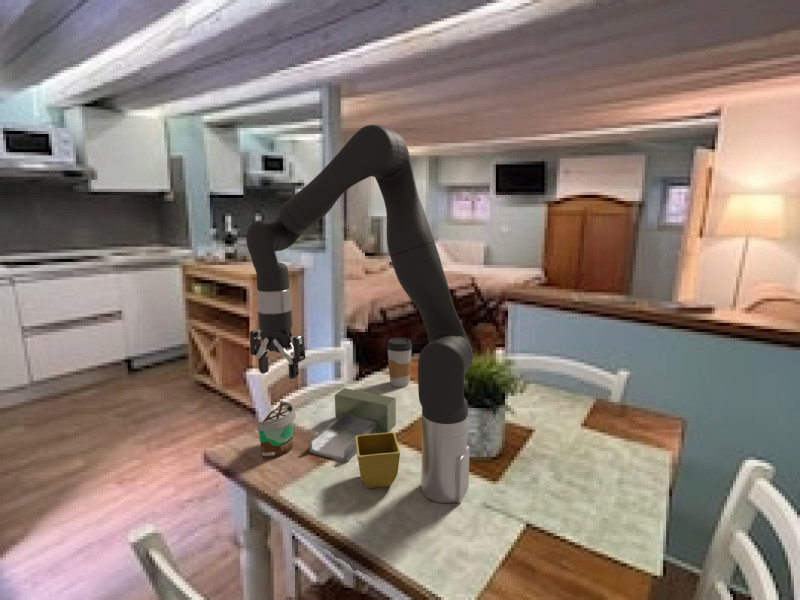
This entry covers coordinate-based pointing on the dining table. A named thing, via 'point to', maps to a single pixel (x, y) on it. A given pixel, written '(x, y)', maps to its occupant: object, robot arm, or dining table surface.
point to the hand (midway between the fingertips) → (278, 375)
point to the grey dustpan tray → (354, 423)
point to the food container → (277, 431)
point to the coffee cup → (399, 361)
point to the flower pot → (378, 458)
